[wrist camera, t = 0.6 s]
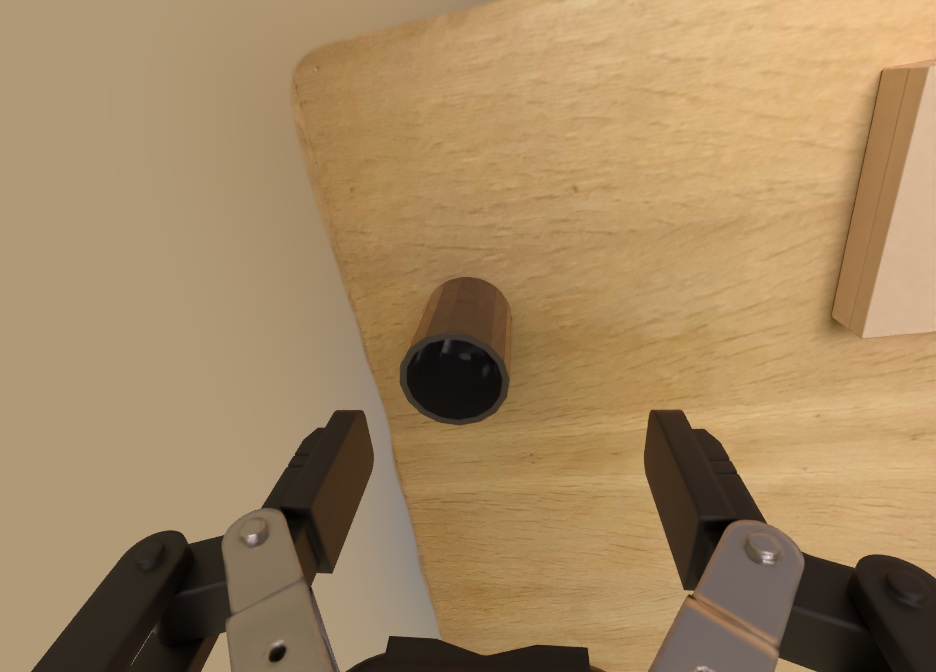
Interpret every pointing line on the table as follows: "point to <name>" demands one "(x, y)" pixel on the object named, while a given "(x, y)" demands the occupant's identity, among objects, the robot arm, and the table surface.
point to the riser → (894, 214)
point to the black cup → (460, 353)
